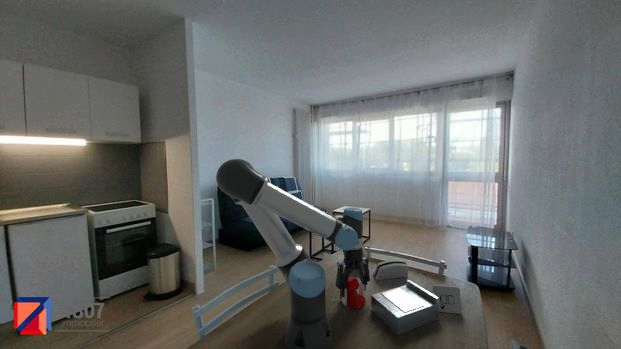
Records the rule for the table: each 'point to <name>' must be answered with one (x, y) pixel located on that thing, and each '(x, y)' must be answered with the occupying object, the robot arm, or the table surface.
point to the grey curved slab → (391, 269)
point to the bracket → (353, 294)
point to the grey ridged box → (405, 307)
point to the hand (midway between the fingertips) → (353, 301)
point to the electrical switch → (448, 298)
